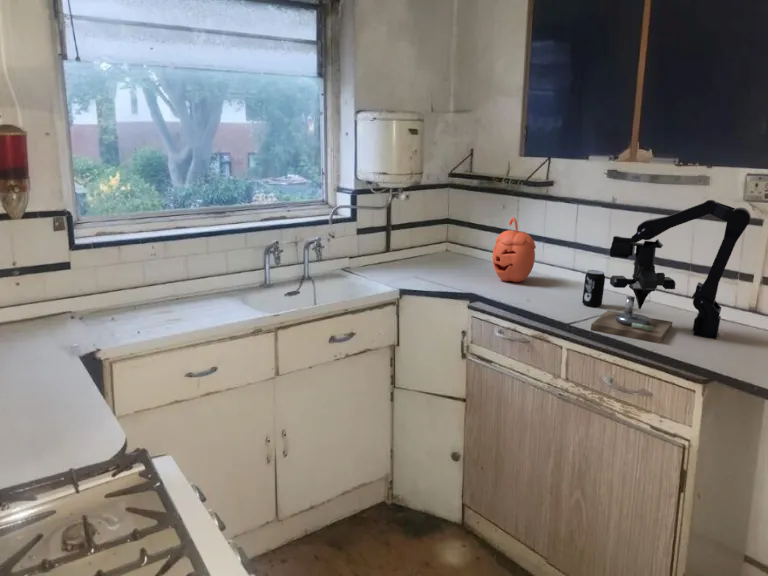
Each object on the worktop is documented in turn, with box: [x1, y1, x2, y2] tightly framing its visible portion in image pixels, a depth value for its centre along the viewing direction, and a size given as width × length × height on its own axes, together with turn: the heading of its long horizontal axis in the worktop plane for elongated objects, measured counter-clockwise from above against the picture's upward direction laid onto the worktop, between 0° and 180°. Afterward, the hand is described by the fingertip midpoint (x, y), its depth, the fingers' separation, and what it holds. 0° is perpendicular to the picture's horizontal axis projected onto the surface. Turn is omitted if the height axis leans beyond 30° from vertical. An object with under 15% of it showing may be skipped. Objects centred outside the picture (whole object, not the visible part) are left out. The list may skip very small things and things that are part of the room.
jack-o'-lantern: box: [491, 216, 537, 283], centre depth 266 cm, size 18×17×25 cm
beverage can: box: [582, 269, 606, 308], centre depth 235 cm, size 7×7×12 cm
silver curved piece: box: [616, 295, 651, 326], centre depth 211 cm, size 14×10×6 cm
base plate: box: [590, 310, 673, 344], centre depth 210 cm, size 20×20×4 cm
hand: (639, 308), depth 216 cm, fingers closed
